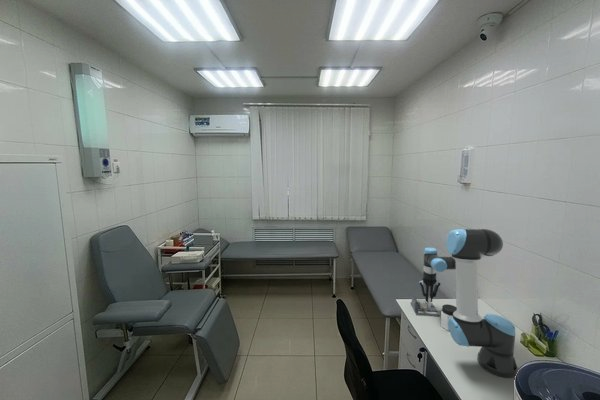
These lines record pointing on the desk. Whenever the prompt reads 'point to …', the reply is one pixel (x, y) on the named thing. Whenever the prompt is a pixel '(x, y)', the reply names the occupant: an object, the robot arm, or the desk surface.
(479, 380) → the desk surface
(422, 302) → the block
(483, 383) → the desk surface
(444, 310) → the jar
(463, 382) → the desk surface
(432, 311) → the bench
